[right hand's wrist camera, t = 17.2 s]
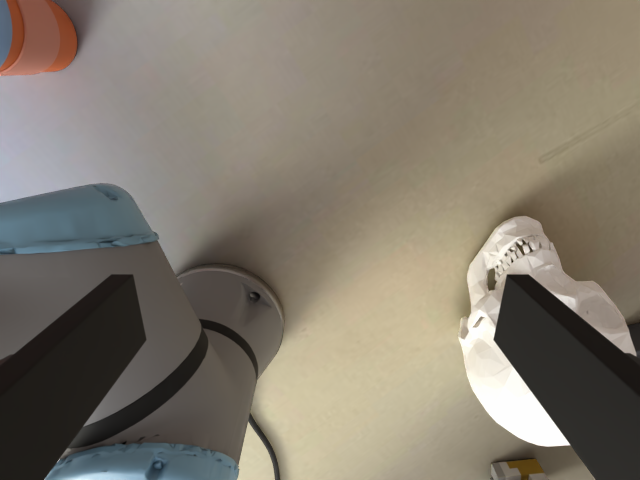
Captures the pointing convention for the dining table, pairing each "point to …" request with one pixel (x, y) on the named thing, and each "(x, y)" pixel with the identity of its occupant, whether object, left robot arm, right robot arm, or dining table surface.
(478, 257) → the skull
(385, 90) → the dining table surface
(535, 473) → the toy
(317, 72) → the dining table surface
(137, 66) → the dining table surface
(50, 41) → the cup with straw
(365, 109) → the dining table surface
